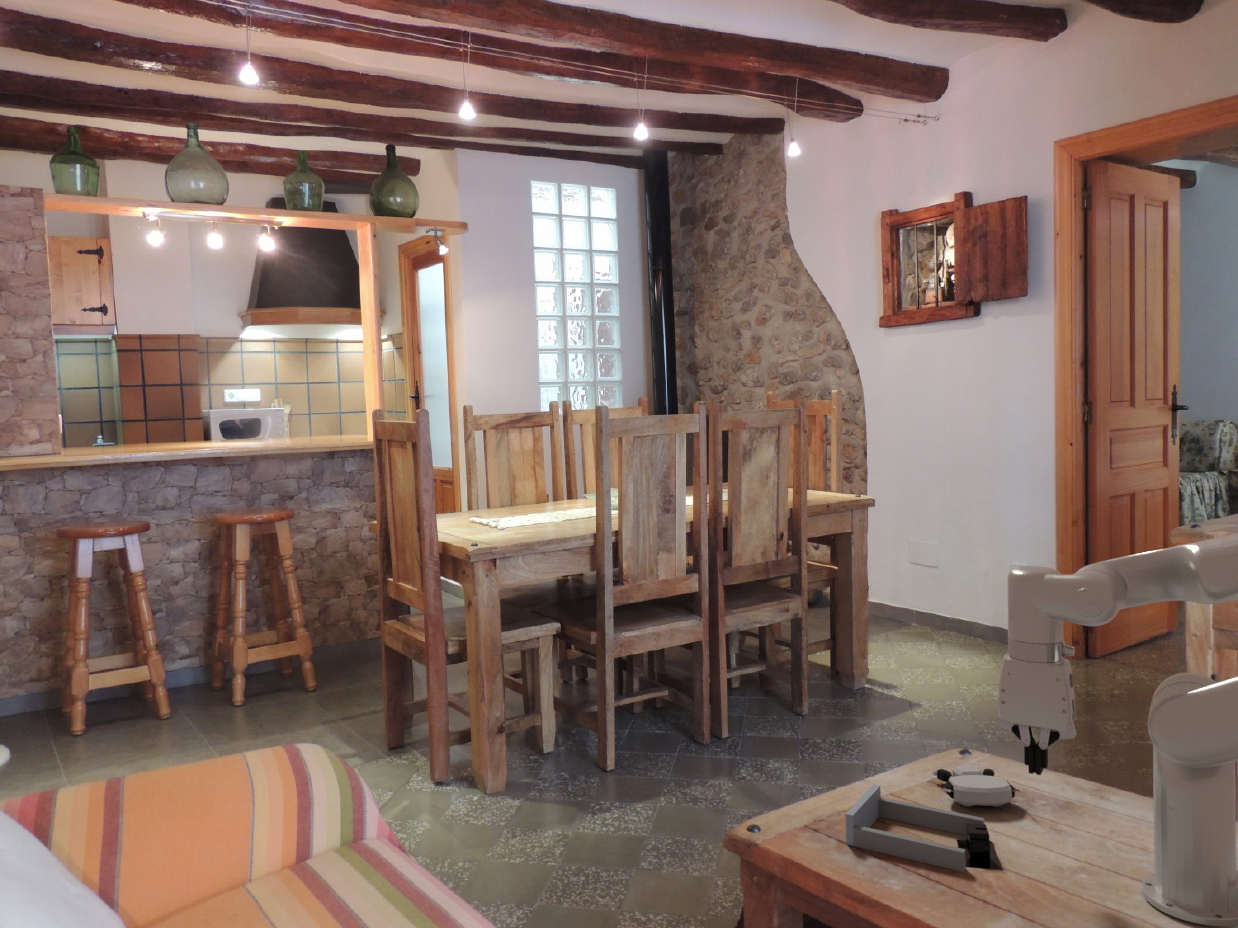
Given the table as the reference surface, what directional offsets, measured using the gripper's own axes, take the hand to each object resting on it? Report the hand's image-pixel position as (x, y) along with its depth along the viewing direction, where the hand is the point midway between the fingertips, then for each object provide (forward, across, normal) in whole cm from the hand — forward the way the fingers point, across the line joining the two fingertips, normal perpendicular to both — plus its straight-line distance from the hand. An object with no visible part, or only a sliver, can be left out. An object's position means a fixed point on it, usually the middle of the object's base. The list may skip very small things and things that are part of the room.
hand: (1036, 770), depth 134 cm
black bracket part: (+16, +8, 0) cm, 18 cm away
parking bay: (+15, +17, 0) cm, 23 cm away
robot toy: (+15, +14, -22) cm, 30 cm away
